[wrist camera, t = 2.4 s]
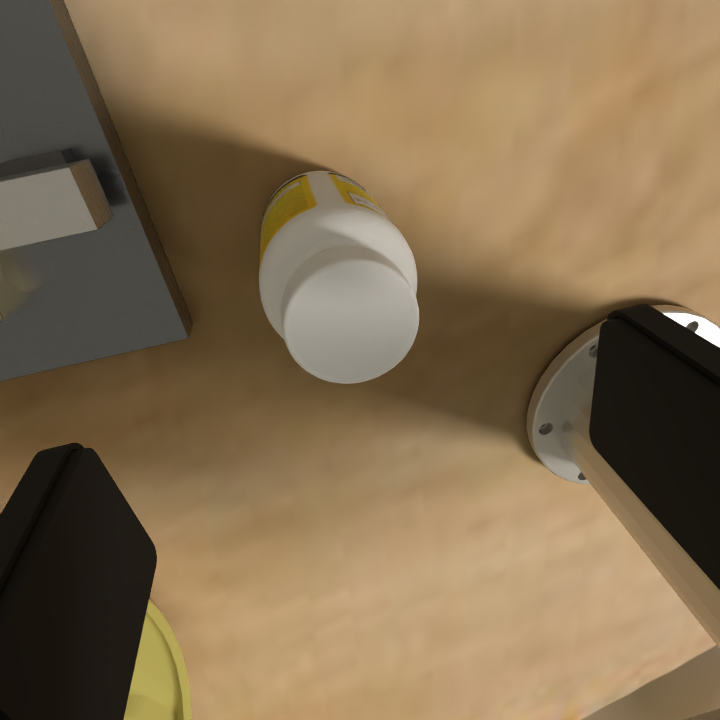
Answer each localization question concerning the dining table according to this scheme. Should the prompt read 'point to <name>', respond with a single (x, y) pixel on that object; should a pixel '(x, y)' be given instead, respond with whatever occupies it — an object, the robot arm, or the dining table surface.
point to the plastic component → (159, 674)
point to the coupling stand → (70, 210)
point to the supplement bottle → (337, 278)
